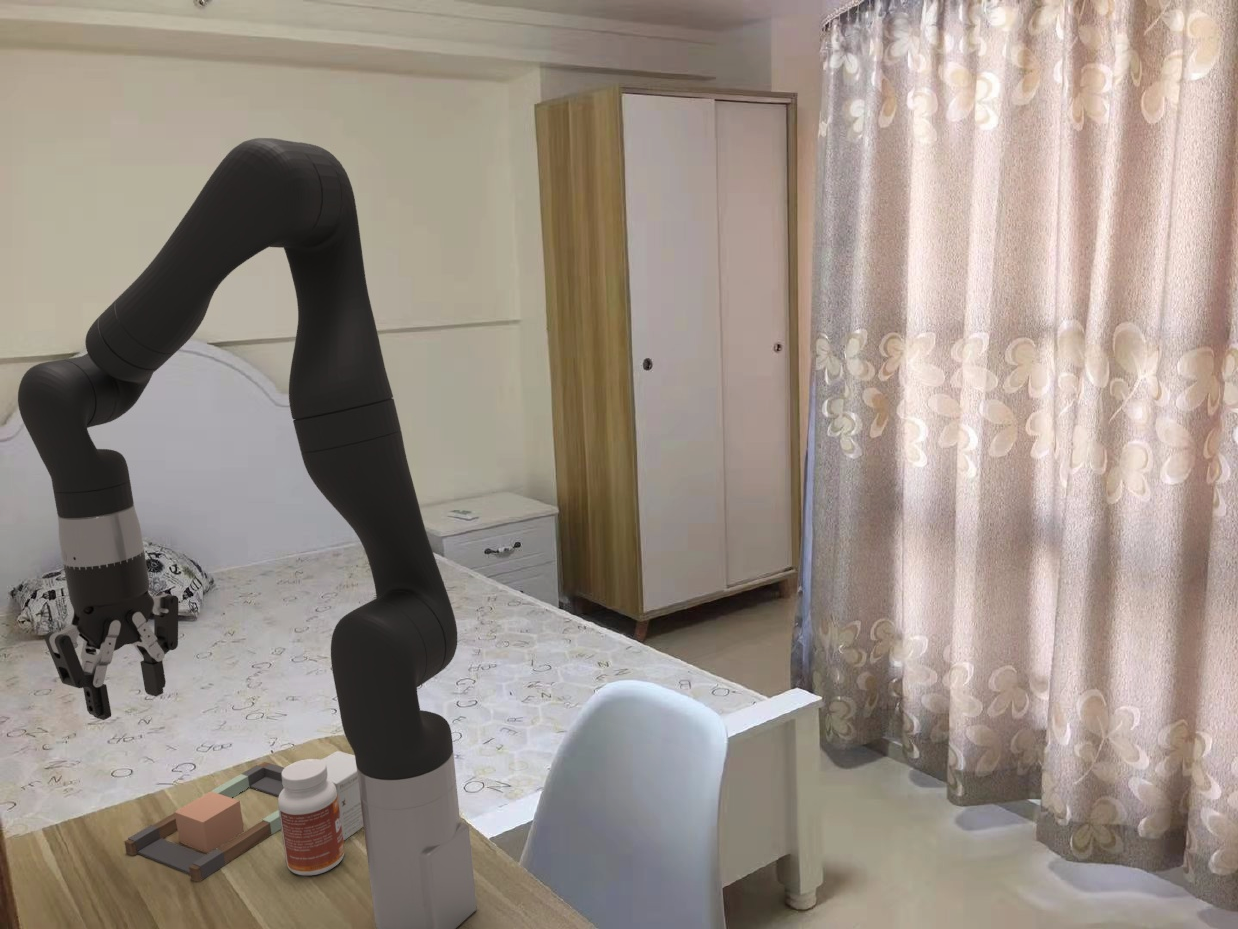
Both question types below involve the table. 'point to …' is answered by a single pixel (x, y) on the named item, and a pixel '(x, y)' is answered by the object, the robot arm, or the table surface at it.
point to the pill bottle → (310, 818)
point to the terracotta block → (209, 821)
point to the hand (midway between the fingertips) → (129, 704)
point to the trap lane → (202, 865)
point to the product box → (346, 790)
